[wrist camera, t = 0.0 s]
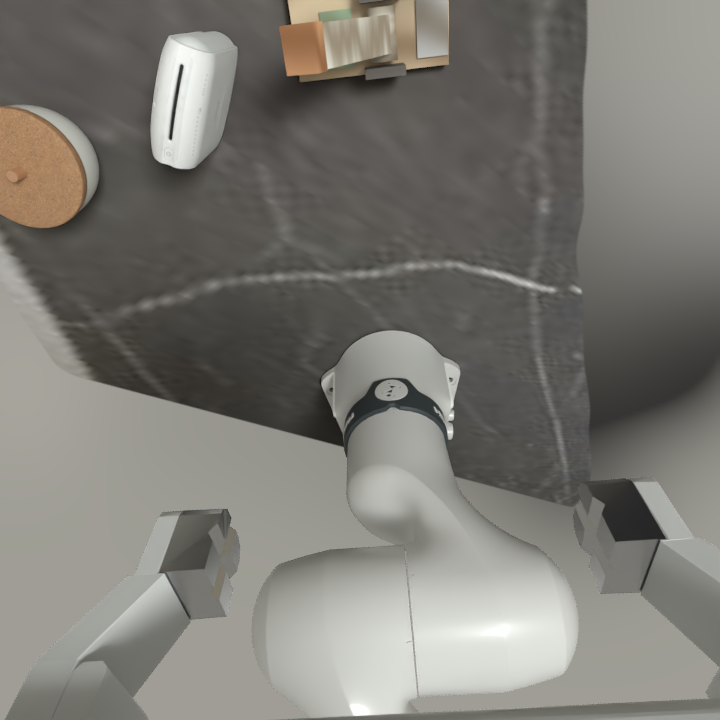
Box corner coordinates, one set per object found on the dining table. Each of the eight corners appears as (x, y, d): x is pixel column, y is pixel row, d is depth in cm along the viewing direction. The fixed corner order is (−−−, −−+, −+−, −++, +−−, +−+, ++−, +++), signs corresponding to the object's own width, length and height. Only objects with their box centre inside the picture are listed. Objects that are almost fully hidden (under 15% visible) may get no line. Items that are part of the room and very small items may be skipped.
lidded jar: (-12, 149, 52) (-76, 172, 45) (40, 70, 48) (-20, 79, 41) (81, 224, 57) (37, 256, 49) (136, 157, 53) (97, 181, 45)
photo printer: (222, 151, 53) (189, 183, 42) (180, 136, 52) (137, 164, 41) (244, 42, 47) (213, 48, 37) (199, 23, 46) (154, 24, 36)
